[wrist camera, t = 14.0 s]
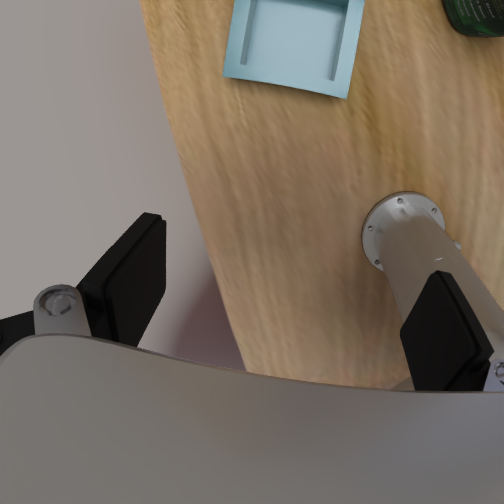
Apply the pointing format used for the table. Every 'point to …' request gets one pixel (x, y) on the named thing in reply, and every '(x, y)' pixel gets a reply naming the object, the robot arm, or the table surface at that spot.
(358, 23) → the square tray
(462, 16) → the coffee jar
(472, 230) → the table surface
